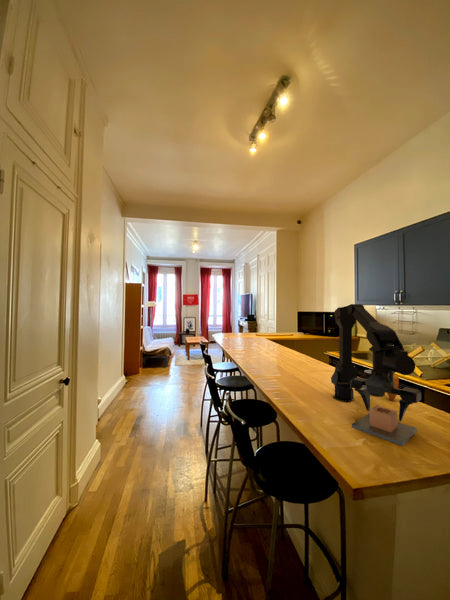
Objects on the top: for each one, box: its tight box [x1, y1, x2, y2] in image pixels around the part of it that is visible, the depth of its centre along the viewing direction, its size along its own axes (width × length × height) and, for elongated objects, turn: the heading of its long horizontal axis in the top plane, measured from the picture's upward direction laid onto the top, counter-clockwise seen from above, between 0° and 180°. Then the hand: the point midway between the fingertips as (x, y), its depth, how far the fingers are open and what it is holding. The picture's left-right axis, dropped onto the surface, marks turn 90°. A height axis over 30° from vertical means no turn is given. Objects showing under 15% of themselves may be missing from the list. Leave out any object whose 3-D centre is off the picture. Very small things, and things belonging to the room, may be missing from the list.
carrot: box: [386, 372, 400, 402], centre depth 104 cm, size 5×5×15 cm
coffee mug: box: [359, 369, 383, 398], centre depth 113 cm, size 12×9×10 cm
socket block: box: [368, 404, 398, 432], centre depth 79 cm, size 6×6×5 cm
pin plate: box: [351, 412, 418, 447], centre depth 79 cm, size 14×14×6 cm
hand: (383, 415), depth 79 cm, fingers open, 9 cm apart
